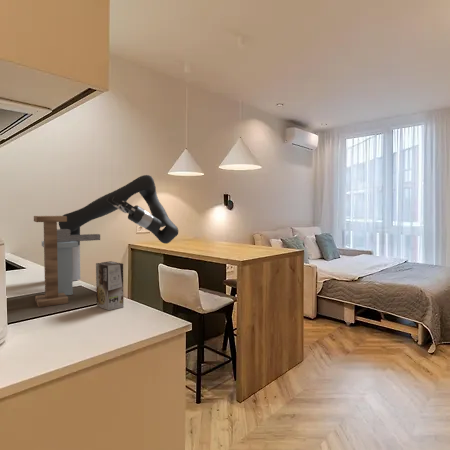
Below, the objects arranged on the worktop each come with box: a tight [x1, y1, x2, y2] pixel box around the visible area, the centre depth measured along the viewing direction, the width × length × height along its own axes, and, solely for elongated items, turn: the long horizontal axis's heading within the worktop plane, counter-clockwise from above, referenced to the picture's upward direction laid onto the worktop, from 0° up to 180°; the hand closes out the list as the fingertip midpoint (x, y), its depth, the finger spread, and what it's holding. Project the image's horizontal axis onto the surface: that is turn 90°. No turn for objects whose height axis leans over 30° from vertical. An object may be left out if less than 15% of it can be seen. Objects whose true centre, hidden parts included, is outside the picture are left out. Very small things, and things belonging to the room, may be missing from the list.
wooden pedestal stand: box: [33, 215, 69, 308], centre depth 132 cm, size 10×10×33 cm
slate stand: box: [41, 240, 78, 296], centre depth 145 cm, size 12×12×22 cm
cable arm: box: [57, 228, 101, 243], centre depth 148 cm, size 7×20×5 cm, turn 124°
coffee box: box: [95, 260, 125, 311], centre depth 127 cm, size 9×6×16 cm
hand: (110, 198), depth 154 cm, fingers open, 8 cm apart
